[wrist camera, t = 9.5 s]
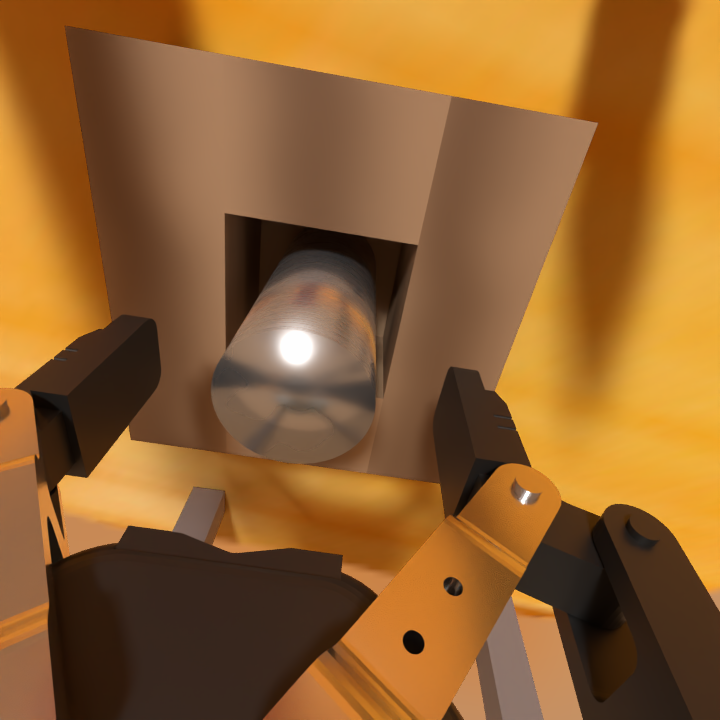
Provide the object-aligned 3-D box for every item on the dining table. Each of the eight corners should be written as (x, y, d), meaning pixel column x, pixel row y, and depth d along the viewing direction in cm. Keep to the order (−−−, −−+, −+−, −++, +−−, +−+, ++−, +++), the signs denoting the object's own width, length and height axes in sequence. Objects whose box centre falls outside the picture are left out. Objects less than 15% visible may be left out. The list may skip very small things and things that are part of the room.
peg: (384, 230, 18) (390, 345, 10) (367, 316, 20) (361, 473, 12) (289, 214, 18) (209, 315, 9) (282, 302, 20) (211, 451, 11)
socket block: (531, 114, 17) (598, 122, 12) (441, 402, 24) (457, 486, 19) (165, 48, 16) (64, 25, 11) (185, 364, 23) (130, 439, 18)
